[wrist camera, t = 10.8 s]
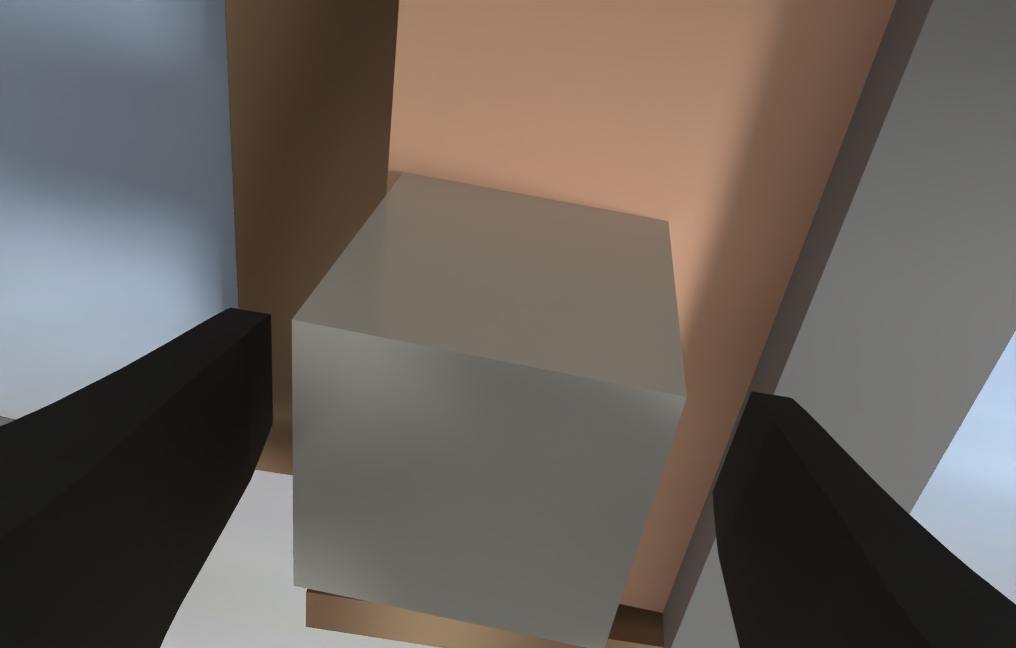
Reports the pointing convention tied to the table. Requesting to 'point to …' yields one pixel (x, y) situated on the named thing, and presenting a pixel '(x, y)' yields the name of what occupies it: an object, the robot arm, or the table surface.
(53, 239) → the table surface
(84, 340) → the table surface
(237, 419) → the robot arm
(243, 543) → the table surface
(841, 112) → the trapdoor
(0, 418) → the striped white tower
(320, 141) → the frame
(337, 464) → the pale sage cube
